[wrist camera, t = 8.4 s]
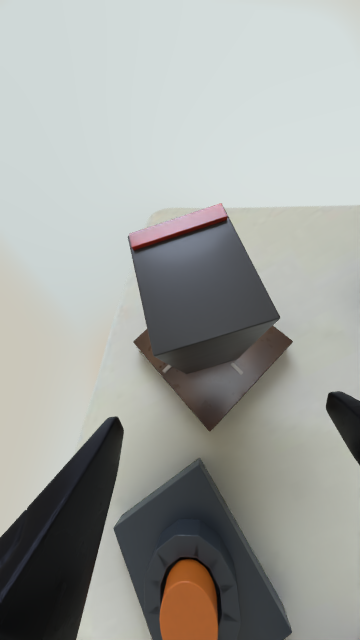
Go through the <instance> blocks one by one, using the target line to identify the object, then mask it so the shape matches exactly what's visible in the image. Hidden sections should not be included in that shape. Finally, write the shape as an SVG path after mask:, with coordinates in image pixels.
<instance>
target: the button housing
mask: <svg viewBox="0 0 360 640" xmlns="http://www.w3.org/2000/svg"><path fill="white" fill-rule="evenodd" d="M114 532H115V534H116V537H117V540H118V543H119V546H120V549H121V551H122V554H123V557H124V560H125V563H126V566H127V568H128V571H129V574H130V577H131V580H132V583H133V585H134V588H135V591H136V594H137V597H138V600H139V602H140V605H141V608H142V611H143V614H144V617H145V620H146V622H147V625H148V628H149V631H150V634H151V637H152V639H153V640H163V639H162V635H161V630H160V608H161V604H162V599H163V594H164V590H165V585H166V581H167V577H168V574H169V572H170V570H171V569H172V567H173V566H174V565H175V564H176V563H177V562H179V561H180V560H183V559H193V560H196V561H198V562H199V563H201V564H202V565H203V566H204V567H205V568H206V569H207V571H208V572H209V574H210V576H211V577H212V580H213V582H214V585H215V589H216V594H217V613H218V639H217V640H284V639H285V638H286V637H287V636H289V635H290V634H291V633H292V630H291V627H290V624H289V621H288V618H287V615H286V612H285V609H284V607H283V604H282V602H281V601H280V599H279V597H278V595H277V594H276V592H275V590H274V588H273V586H272V585H271V583H270V581H269V579H268V578H267V576H266V574H265V572H264V570H263V569H262V567H261V565H260V563H259V562H258V560H257V558H256V556H255V555H254V553H253V551H252V549H251V547H250V546H249V544H248V542H247V540H246V539H245V537H244V535H243V533H242V531H241V530H240V528H239V526H238V524H237V523H236V521H235V519H234V517H233V516H232V514H231V512H230V510H229V508H228V507H227V505H226V503H225V501H224V500H223V498H222V496H221V494H220V492H219V491H218V489H217V487H216V485H215V484H214V482H213V480H212V478H211V477H210V475H209V473H208V471H207V469H206V468H205V466H204V464H203V462H202V461H201V459H200V458H199V459H197V460H196V461H195V462H193V463H192V464H191V465H189V466H188V467H186V468H185V469H184V470H182V471H181V472H180V473H178V474H177V475H176V476H174V477H173V478H172V479H170V480H169V481H168V482H166V483H165V484H164V485H162V486H161V487H160V488H158V489H157V490H156V491H154V492H153V493H152V494H150V495H149V496H147V497H146V498H145V499H143V500H142V501H141V502H139V503H138V504H137V505H135V506H134V507H133V508H131V509H130V510H129V511H127V512H126V513H125V514H123V515H122V516H121V518H120V519H119V521H118V522H117V524H116V525H115V527H114Z"/></svg>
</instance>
